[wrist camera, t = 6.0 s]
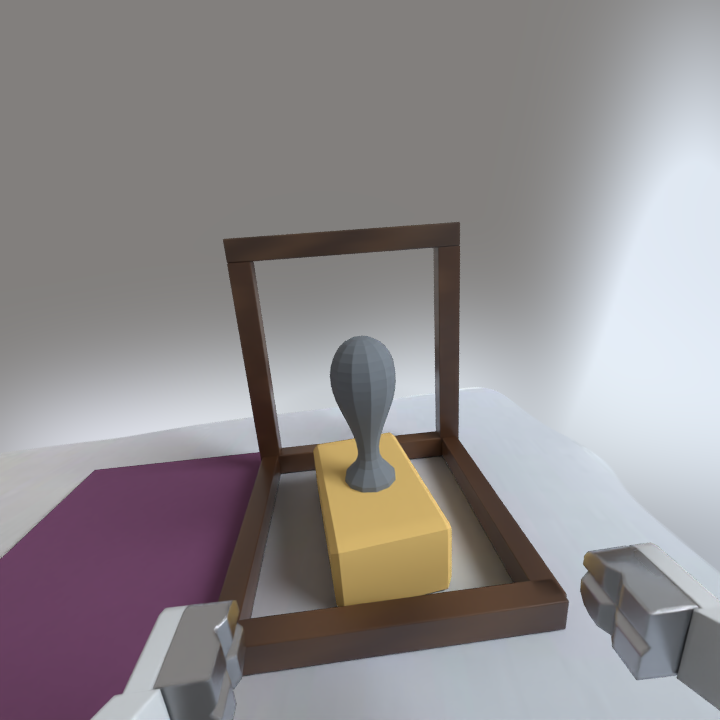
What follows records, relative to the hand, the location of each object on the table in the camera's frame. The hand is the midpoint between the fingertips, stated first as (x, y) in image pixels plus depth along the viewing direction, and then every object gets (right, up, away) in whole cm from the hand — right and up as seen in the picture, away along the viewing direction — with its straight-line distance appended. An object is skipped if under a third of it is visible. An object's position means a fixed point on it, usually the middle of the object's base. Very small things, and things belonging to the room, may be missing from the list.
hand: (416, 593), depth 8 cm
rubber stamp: (-1, -5, +14) cm, 15 cm away
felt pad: (-15, -6, +13) cm, 21 cm away
